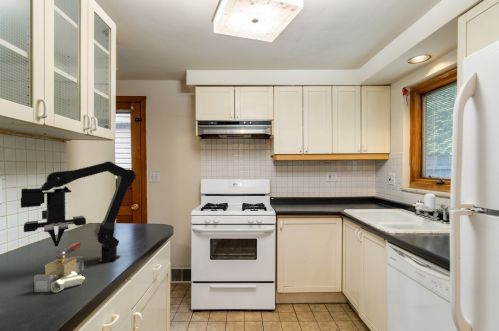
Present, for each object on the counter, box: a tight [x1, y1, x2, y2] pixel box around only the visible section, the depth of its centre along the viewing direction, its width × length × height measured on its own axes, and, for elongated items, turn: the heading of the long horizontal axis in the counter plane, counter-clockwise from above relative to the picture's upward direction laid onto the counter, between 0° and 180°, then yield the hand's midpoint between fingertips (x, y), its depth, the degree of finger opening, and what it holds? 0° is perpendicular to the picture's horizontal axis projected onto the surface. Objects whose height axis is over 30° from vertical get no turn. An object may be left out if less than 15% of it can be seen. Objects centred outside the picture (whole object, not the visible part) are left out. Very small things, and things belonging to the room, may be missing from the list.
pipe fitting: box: [50, 271, 86, 294], centre depth 88 cm, size 8×4×7 cm
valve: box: [33, 256, 85, 293], centre depth 93 cm, size 18×6×8 cm, turn 1°
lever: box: [54, 241, 82, 260], centre depth 98 cm, size 13×3×2 cm, turn 6°
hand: (56, 246), depth 101 cm, fingers closed
